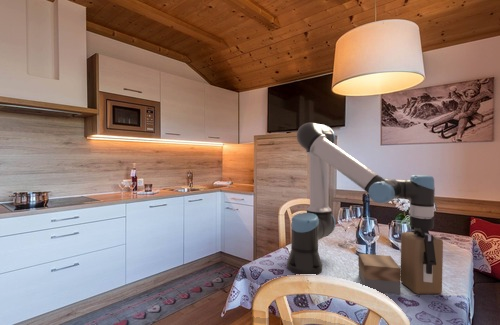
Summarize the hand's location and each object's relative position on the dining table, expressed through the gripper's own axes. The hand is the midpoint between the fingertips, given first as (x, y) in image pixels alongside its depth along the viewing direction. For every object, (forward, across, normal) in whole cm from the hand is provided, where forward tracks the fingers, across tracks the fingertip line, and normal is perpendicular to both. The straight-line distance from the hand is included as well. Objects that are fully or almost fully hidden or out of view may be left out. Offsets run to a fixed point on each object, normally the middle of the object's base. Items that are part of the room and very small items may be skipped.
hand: (420, 274), depth 99 cm
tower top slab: (+1, -1, +15) cm, 15 cm away
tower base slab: (+6, -1, +15) cm, 16 cm away
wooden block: (+5, 0, 0) cm, 5 cm away
